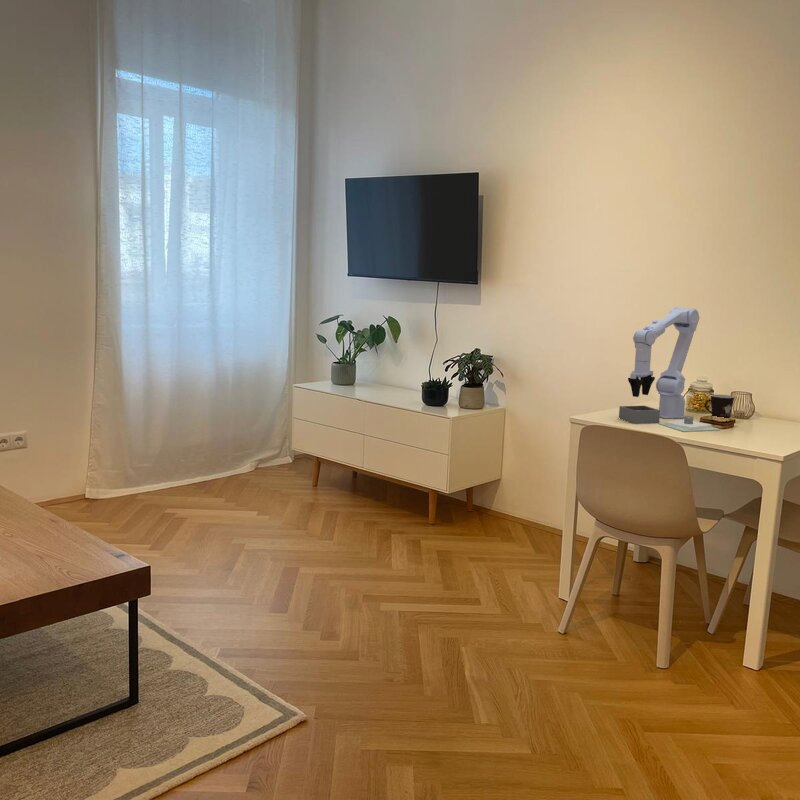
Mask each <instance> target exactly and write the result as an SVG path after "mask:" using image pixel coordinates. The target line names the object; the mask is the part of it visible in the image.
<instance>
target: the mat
mask: <svg viewBox="0 0 800 800" xmlns="http://www.w3.org/2000/svg"><path fill="white" fill-rule="evenodd" d="M657 424H658V425H660V426H663V427H667V428H670V429H673V430H676V431H678V432H679V431H680V432H681V433H690V432H691V433H692V432H712V431H713V432H714V431H715V432H716V431H718V432H719V431H721V428H717V427H715V426H714V427H713V426H712V427H711V428H703V429H696V430H688V429H683V428H678V427H674V426H669V425H665V422H659V423H657Z"/></svg>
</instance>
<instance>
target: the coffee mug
mask: <svg viewBox="0 0 800 800" xmlns="http://www.w3.org/2000/svg"><path fill="white" fill-rule="evenodd" d="M734 400H735V396H734V395H730V394H729V395H728V394H711V395H710V399H708V400H706V401H705V403H704V408H705V409H706V410H707V412H709V413H710V414H711V417H712V416H717V417H724V418H730V419H731V415H732V409H733V407H734V406H733V405H734ZM709 402H710V407H711V408H710V409H711V410H710V409H709V408H708V406H707V405H708V403H709Z"/></svg>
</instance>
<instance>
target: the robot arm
mask: <svg viewBox="0 0 800 800" xmlns="http://www.w3.org/2000/svg"><path fill="white" fill-rule="evenodd" d="M700 318H701V317H700V314H699V311H698V310H697V308H685V307H673V308H672V309H670V310H669V313H667V315H666V316H665V317H663V318H661V320H652V322H651V323H650V324H649V325H646V326H645V327H644V328H643V329H637V330H636V331H635V332H634V334H633V336H632V339H633V342H634V348H635V356H634V357H635V359H634V370H632V371H631V373H630V375H629V377H628V378H627V381H628V383H629V385H630V388H631V394H632V397H635V398H639V397H640V391H641V394H642V395H643V396H648V395H649V393H650V390H651V387H652V384H653V383H654V381H655V379H656V377H655V376H654V370H651V360H652V359H651V358H652V345H654V344H655V342H656V339H658V338H659V337H660V336H662V335H663V334H664V333H665V332H666V329H668V328H669V327H670V326H672V325H673V327H674V328H675V330H677V331H678V333H679V334H678V336H677V339H676V343H675V346H674V349H673V352H672V355H671V357H670V361H669V364H668V368H667V369H665V370H664V371H663V372H661V373H660V375H659V377H658V379H657V380H656V382H655V388H656V391H657V392H658V395H659V402H658V410H660V418H663V419H684V416H685V411H686V410H685V406H686V400H685V397H684V395H682V394H683V392H684V391H685V382H686V377H685V376H684V375H683V373H682V371H683V368H684V365H685V362H686V359H687V356H688V353H689V350H690V346H691V343H692V340H693V338H694V335H695V332H696V331H697V327H698V325H699V322H700Z"/></svg>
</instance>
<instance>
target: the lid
mask: <svg viewBox="0 0 800 800" xmlns="http://www.w3.org/2000/svg"><path fill="white" fill-rule="evenodd" d="M664 423H665V425H669V426H674V427H678V428H683V429H688V430H696V429H703V428H711V427H713V424H710V423H706V422H705V423H704V422H701V421H695V420H694V416H692V415H691V416H690V415H684V418H683V419H678V420H671V421H664Z"/></svg>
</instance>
